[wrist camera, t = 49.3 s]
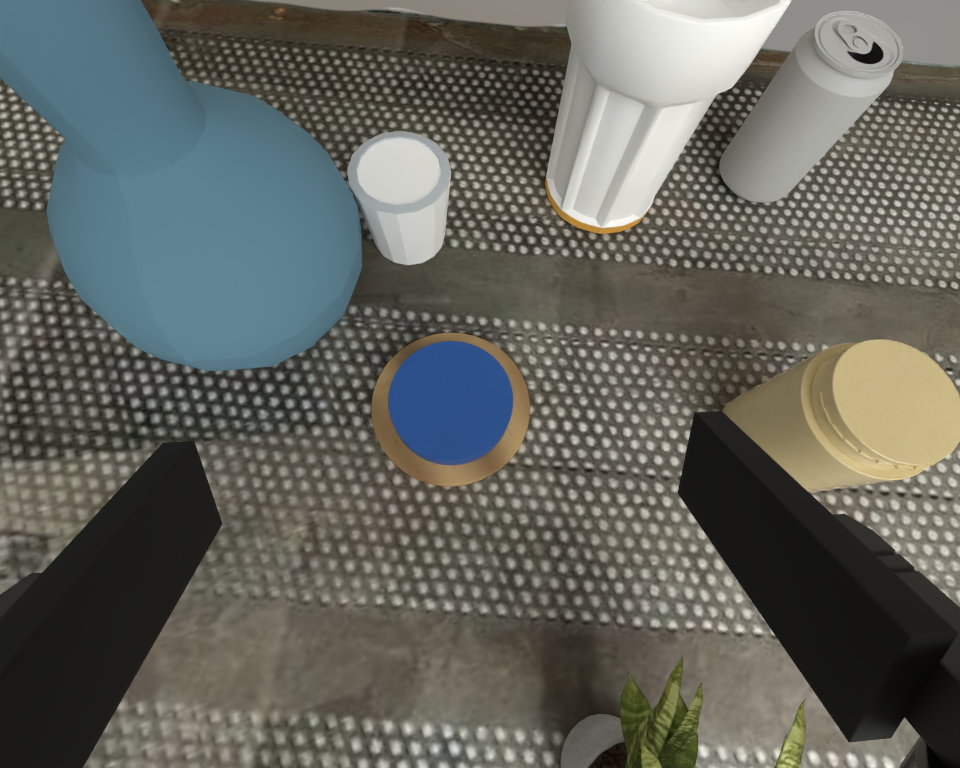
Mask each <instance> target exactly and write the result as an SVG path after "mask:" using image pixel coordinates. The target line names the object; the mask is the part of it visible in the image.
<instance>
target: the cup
mask: <svg viewBox="0 0 960 768" xmlns="http://www.w3.org/2000/svg"><path fill="white" fill-rule="evenodd" d="M791 1H792V0H570V3H569V8H568V14H567V20H566V25H567V29H568V33H569V36H570V40H571V50H570V55H569V60H568V65H567V70H566V76H565V81H564V86H563V91H562V96H561V102H560V107H559V112H558V117H557V122H556V128H555V133H554V138H553V143H552V148H551V154H550V159H549V164H548V169H547V174H546V180H545V187H546V192H547V196H548V200H549V202H550V203H551V205H552V206H553V208H554V209H555V211H556V212H557V213H558V215H559V216H560V217H561V218H563V219H564V220H566V221H567V222H569V223H570V224H572V225H574V226H576V227H577V228H580V229H583V230H586V231H590V232H594V233H598V234H603V233H614V232H621V231H623V230H625V229H628V228H630V227H632V226H634V225H636V224H638V223H639V222H640V221H641V219H642V218H643V217H644V216H645V214H646V213H647V211H648V210H649V208H650V206H651V205H652V203H653V200H654V196H655V195H656V193H657V192H658V190H659V188H660V187H661V185H662V183H663V182H664V180H665V178H666V177H667V175H668V173H669V172H670V170H671V169H672V167H673V165H674V164H675V162H676V160H677V159H678V157H679V155H680V154H681V152H682V151H683V149H684V147H685V146H686V144H687V142H688V141H689V139H690V137H691V136H692V134H693V132H694V131H695V129H696V128H697V126H698V124H699V123H700V121H701V119H702V118H703V116H704V114H705V113H706V111H707V110H708V108H709V106H710V105H711V103H712V101H713V100H714V98H715V96H716V95H717V94H719V93H721V92H723V91H726V90H728V89H730V88H732V87H733V86H734V85H735V83H736V82H737V81H738V80H739V78H740V77H741V76H742V74H743V73H744V72H745V71H746V69H747V68H748V67H749V66H750V64H751V63H752V61H753V59H754V58H755V56H756V55H757V53H758V52H759V50H760V49H761V47H762V46H763V44H764V42H765V41H766V39H767V38H768V36H769V35H770V33H771V32H772V30H773V29H774V27H775V25H776V24H777V22H778V21H779V19H780V18H781V16H782V15H783V13H784V11H785V10H786V9H787V7H788V5H789V4H790V2H791Z"/></svg>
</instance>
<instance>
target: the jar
mask: <svg viewBox="0 0 960 768" xmlns="http://www.w3.org/2000/svg"><path fill="white" fill-rule="evenodd" d="M722 412H723V413H724V414H726V415H727V416H728V417H729V418H730V419H731V420H732V421H733V422H734V423H735V424H736V425H737V426H738V427H739V428H740V429H742V430H743V431H744V432H745V433H746V434H747V435H748V436H749V437H750V438H751V439H752V440H753V441H754V442H755V443H756V444H758V445H759V446H760V447H761V448H762V449H763V450H764V451H765V452H766V453H767V454H768V455H769V456H770V457H771V458H773V459H774V460H775V461H776V462H777V463H778V464H779V465H780V466H781V467H782V468H783V469H784V470H785V471H786V472H787V473H789V474H790V475H791V476H792V477H793V478H794V479H795V480H796V481H797V482H798V483H799V484H800V485H801V486H802V487H803V488H805V489H806V490H807V491H808V492H809V493H813V492H819V491H826V490H833V489H840V488H847V487H853V486H860V485H867V484H874V483H880V482H887V481H894V480H900V479H906V478H909V477H912V476H915V475H917V474H918V473H920V472H922V471H923V470H924V469H926V468H927V467H928V466H931V465H934V464H935V463H937V462H938V461H940V460H942V459H943V458H945V457H947V456H948V455H949V454H950V453H951V452H952V451H953V450H954V449H955V448H956V446H957V445H958V443H959V441H960V397H959V394H958V392H957V390H956V388H955V386H954V384H953V383H952V381H951V380H950V378H949V377H948V376H947V374H946V373H945V372H944V371H943V370H942V369H941V368H940V366H939V365H938V363H936V362H935V361H933V360H932V359H931V358H929V357H928V356H927V355H925V354H924V353H923V352H920V351H919V350H917V349H915V348H913V347H911V346H909V345H906V344H903V343H900V342H896V341H892V340H884V339H874V340H867V341H863V342H860V343H844V344H838V345H834V346H831V347H829V348H827V349H824V350H823V351H821V352H819V353H817V354H815V355H813V356H811V357H809V358H808V359H806V360H804V361H802V362H800V363H798V364H796V365H795V366H793V367H791V368H789V369H787V370H785V371H783V372H781V373H780V374H778V375H776V376H774V377H772V378H770V379H768V380H766V381H765V382H763V383H761V384H759V385H757V386H755V387H753V388H751V389H750V390H748V391H746V392H744V393H742V394H740V395H738V396H737V397H735V398H734V399H732V400H731V401H730V402H729V403H728V404H727V405H726V406H725V407H724V408H723V410H722Z"/></svg>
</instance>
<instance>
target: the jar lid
mask: <svg viewBox="0 0 960 768" xmlns="http://www.w3.org/2000/svg"><path fill="white" fill-rule="evenodd" d="M388 407H389V413H390V417H391V420H392V423H393V425H394V427H395V429H396V431H397V433H398V435H399V437H400V438H401V440H402V441H403V443H404V444H405V445H406V446H407V447H408V448H409V449H410V450H411V451H412V452H414V453H415V454H416V455H418V456H419V457H421V458H423V459H425V460H427V461H430V462H433V463H436V464H441V465H461V464H465V463H469V462H472V461H475V460H477V459H479V458H481V457H483V456H484V455H486V454H487V453H488V452H490V451H491V450H492V449H493V448H494V447H495V446H496V445H497V444H498V442H499V441H500V440H501V438H502V437H503V435H504V433H505V431H506V429H507V427H508V424H509V422H510V419H511V415H512V410H513V390H512V386H511V382H510V380H509V378H508V375H507V373H506V372H505V370H504V368H503V367H502V366H501V364H500V363H499V362H498V361H497V360H496V359H495V358H494V357H493V356H492V355H490V354H489V353H488V352H486V351H485V350H483V349H481V348H479V347H477V346H475V345H472V344H468V343H464V342H459V341H445V342H438V343H434V344H431V345H428V346H426V347H423V348H421V349H419V350H418V351H416V352H415V353H413V354H412V355H411V356H409V357H408V358H407V359H406V360H405V361H404V362H403V363H402V365H401V366H400V367H399V369H398V370H397V372H396V374H395V375H394V377H393V380H392V383H391V386H390V390H389V397H388Z"/></svg>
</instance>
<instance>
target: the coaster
mask: <svg viewBox="0 0 960 768" xmlns="http://www.w3.org/2000/svg"><path fill="white" fill-rule="evenodd" d="M445 341H459V342H464V343H468V344H472V345H475V346H477V347H479V348H481V349H483V350H485V351H486V352H488V353H489V354H490V355H492V356H493V357H494V358H495V359H496V360H497V361H498V362H499V363H500V364H501V366H502V367H503V368H504V370H505V372H506V373H507V375H508V378H509V380H510V382H511V386H512V390H513V410H512V415H511V419H510V422H509V424H508V427H507V429H506V431H505V433H504V435H503V437H502V438H501V440H500V441H499V442H498V444H497V445H496V446H495V447H494V448H493V449H492V450H491V451H490V452H488V453H487V454H486V455H484V456H483V457H481V458H479V459H477V460H475V461H472V462H469V463H465V464H461V465H441V464H436V463H433V462H430V461H427V460H425V459H423V458H421V457H419V456H418V455H416V454H415V453H414V452H412V451H411V450H410V449H409V448H408V447H407V446H406V445H405V444H404V443H403V441H402V440H401V438H400V437H399V435H398V433H397V431H396V429H395V427H394V425H393V423H392V420H391V417H390V413H389V407H388V397H389V390H390V386H391V383H392V380H393V377H394V375H395V374H396V372H397V370H398V369H399V367H400V366H401V365H402V363H403V362H404V361H405V360H406V359H407V358H408V357H409V356H411V355H412V354H413V353H415V352H416V351H418V350H419V349H421V348H423V347H426V346H428V345H431V344H434V343H438V342H445ZM371 416H372V424H373V428H374V432H375V435H376V437H377V440H378V442H379V444H380V446H381V447H382V449H383V451H384V452H385V453H386V455H387V456H388V457H389V459H390V460H391V461H392V462H393V463H394V464H395V465H396V466H397V467H398V468H399V469H401V470H402V471H403V472H405V473H406V474H407V475H409V476H411V477H413V478H415V479H417V480H419V481H422V482H424V483H427V484H431V485H435V486H444V487H458V486H464V485H469V484H473V483H476V482H479V481H481V480H484V479H486V478H488V477H490V476H491V475H493V474H495V473H496V472H498V471H499V470H500V469H501V468H502V467H504V466H505V465H506V464H507V463H508V462H509V461H510V460H511V458H512V457H513V456H514V454H515V453H516V452H517V450H518V449H519V447H520V445H521V443H522V441H523V439H524V437H525V434H526V431H527V428H528V424H529V419H530V399H529V394H528V389H527V386H526V383H525V380H524V378H523V376H522V374H521V372H520V370H519V369H518V368H517V366H516V365H515V363H514V362H513V361H512V360H511V359H510V357H509V356H508V355H507V354H505V353H504V352H503V351H502V350H501V349H499V348H498V347H496V346H495V345H494V344H492V343H490V342H488V341H486V340H484V339H481V338H479V337H476V336H472V335H468V334H462V333H441V334H434V335H430V336H426V337H424V338H421V339H419V340H416V341H414V342H413V343H411V344H409V345H407V346H406V347H404V348H403V349H402V350H400V351H399V352H398V353H397V354H396V355H395V356H393V357H392V359H391V360H390V361H389V362H388V363H387V364H386V366H385V367H384V369H383V370H382V372H381V374H380V376H379V378H378V380H377V382H376V385H375V388H374V391H373V396H372V402H371Z"/></svg>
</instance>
